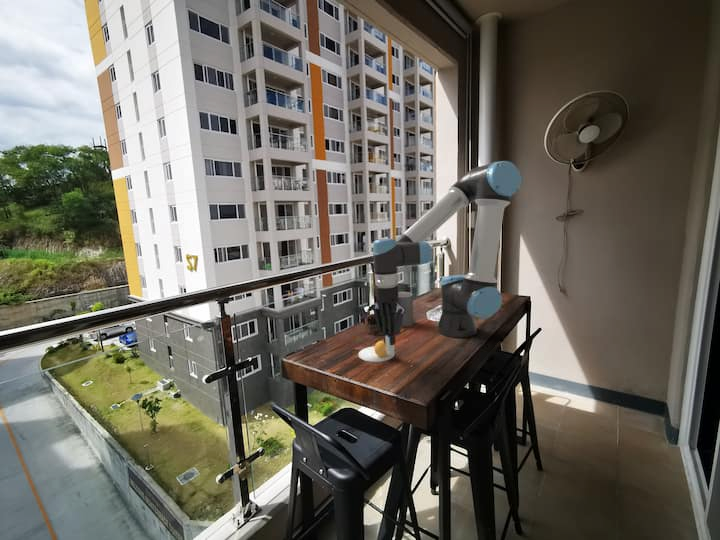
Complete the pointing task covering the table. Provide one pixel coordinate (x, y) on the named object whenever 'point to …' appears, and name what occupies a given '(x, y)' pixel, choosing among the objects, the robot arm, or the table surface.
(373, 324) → the pottery mug
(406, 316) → the pillar candle
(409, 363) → the table surface
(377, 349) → the ball
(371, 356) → the disc
